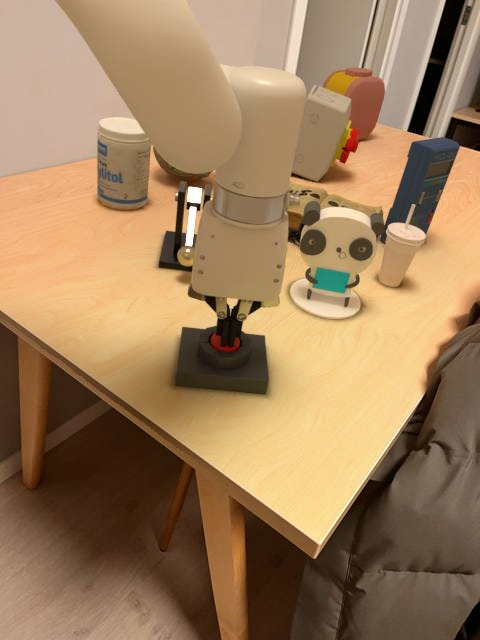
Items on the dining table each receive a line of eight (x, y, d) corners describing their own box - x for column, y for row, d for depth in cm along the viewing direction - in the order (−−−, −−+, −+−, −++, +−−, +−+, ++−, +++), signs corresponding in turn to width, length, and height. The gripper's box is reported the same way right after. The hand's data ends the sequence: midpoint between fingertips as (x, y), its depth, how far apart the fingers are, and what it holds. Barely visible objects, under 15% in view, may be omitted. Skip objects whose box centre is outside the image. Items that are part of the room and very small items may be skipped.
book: (378, 232, 108) (387, 205, 105) (362, 265, 95) (371, 236, 92) (265, 198, 114) (270, 172, 111) (236, 225, 101) (240, 196, 98)
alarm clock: (348, 129, 172) (364, 64, 161) (374, 140, 166) (393, 73, 154) (309, 133, 161) (324, 64, 150) (336, 145, 155) (354, 74, 144)
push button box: (175, 385, 63) (177, 360, 61) (181, 339, 70) (183, 315, 68) (265, 394, 64) (271, 369, 62) (262, 348, 71) (267, 324, 69)
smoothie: (393, 270, 95) (419, 197, 87) (414, 289, 91) (444, 214, 83) (363, 272, 93) (388, 198, 85) (384, 292, 88) (411, 215, 80)
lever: (196, 270, 82) (197, 262, 79) (175, 268, 81) (176, 259, 78) (204, 198, 86) (205, 187, 83) (184, 195, 86) (185, 184, 82)
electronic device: (398, 251, 102) (435, 149, 91) (377, 240, 105) (410, 139, 94) (425, 242, 108) (463, 144, 96) (405, 231, 111) (439, 135, 99)
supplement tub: (87, 203, 100) (86, 124, 91) (112, 187, 107) (113, 112, 99) (134, 216, 98) (136, 136, 90) (156, 199, 106) (160, 124, 97)
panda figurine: (282, 309, 80) (303, 218, 71) (288, 273, 89) (307, 188, 80) (361, 325, 79) (391, 236, 71) (358, 287, 89) (385, 204, 80)
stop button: (208, 358, 64) (210, 347, 63) (209, 340, 67) (211, 329, 66) (238, 361, 65) (240, 350, 64) (237, 343, 67) (239, 332, 66)
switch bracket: (214, 274, 85) (223, 206, 79) (158, 267, 85) (162, 198, 78) (215, 242, 94) (224, 179, 88) (165, 236, 94) (169, 171, 87)
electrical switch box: (337, 196, 127) (373, 114, 116) (279, 173, 128) (309, 90, 116) (343, 177, 139) (376, 101, 127) (290, 156, 140) (318, 79, 128)
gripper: (315, 195, 58) (284, 327, 69) (179, 177, 57) (169, 315, 67) (324, 224, 52) (289, 365, 63) (172, 206, 51) (162, 353, 61)
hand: (227, 339), depth 65 cm, fingers closed
